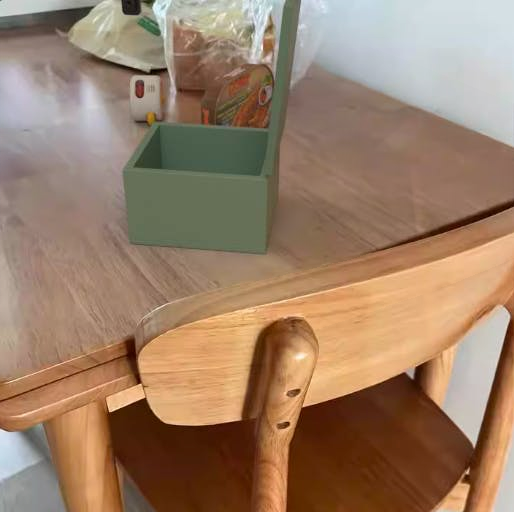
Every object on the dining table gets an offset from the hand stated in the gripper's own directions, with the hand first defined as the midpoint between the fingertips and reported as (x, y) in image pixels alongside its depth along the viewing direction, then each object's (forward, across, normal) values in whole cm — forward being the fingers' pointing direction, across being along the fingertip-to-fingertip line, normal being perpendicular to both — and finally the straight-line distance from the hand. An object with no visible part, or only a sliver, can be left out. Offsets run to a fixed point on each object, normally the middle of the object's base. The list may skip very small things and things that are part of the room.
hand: (141, 6), depth 91 cm
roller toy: (+15, 0, 0) cm, 15 cm away
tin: (+15, +4, +13) cm, 20 cm away
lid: (-1, +27, +20) cm, 34 cm away
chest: (+14, +27, +13) cm, 33 cm away
